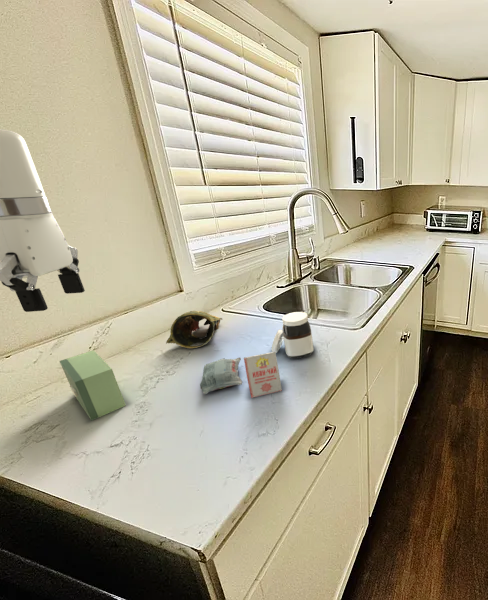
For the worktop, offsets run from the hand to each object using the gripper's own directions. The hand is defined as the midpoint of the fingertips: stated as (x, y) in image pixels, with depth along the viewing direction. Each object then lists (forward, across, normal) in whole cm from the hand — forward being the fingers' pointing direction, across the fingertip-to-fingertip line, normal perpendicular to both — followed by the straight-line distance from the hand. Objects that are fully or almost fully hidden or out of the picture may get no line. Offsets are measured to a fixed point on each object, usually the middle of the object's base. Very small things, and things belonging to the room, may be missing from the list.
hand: (57, 301), depth 62 cm
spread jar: (+27, -18, +39) cm, 50 cm away
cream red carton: (+27, 0, +34) cm, 43 cm away
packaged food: (+27, -7, +23) cm, 36 cm away
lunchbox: (+27, -5, -3) cm, 27 cm away
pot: (+27, -32, +10) cm, 43 cm away
